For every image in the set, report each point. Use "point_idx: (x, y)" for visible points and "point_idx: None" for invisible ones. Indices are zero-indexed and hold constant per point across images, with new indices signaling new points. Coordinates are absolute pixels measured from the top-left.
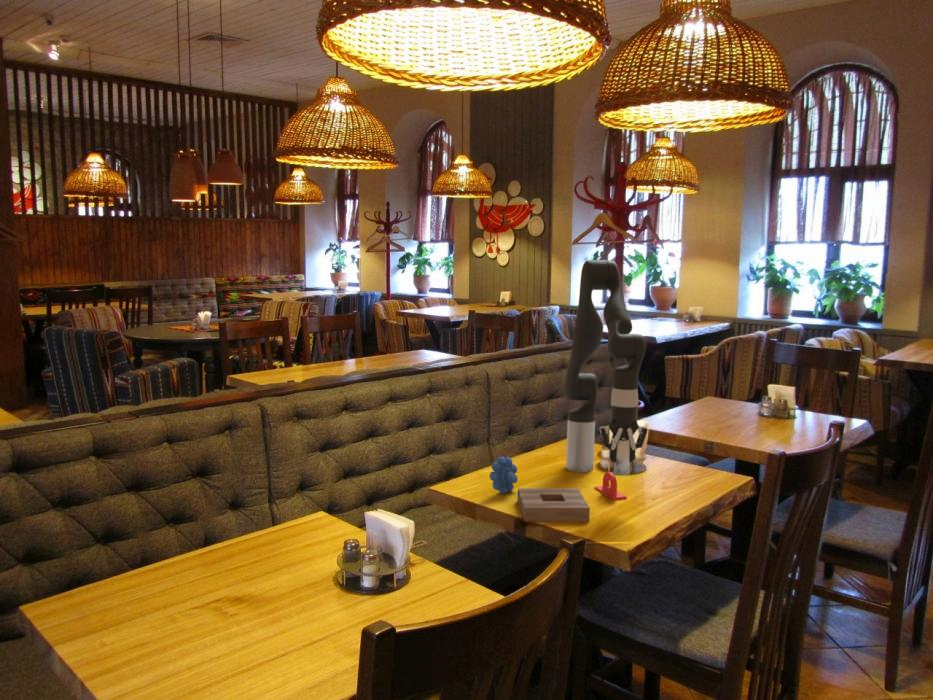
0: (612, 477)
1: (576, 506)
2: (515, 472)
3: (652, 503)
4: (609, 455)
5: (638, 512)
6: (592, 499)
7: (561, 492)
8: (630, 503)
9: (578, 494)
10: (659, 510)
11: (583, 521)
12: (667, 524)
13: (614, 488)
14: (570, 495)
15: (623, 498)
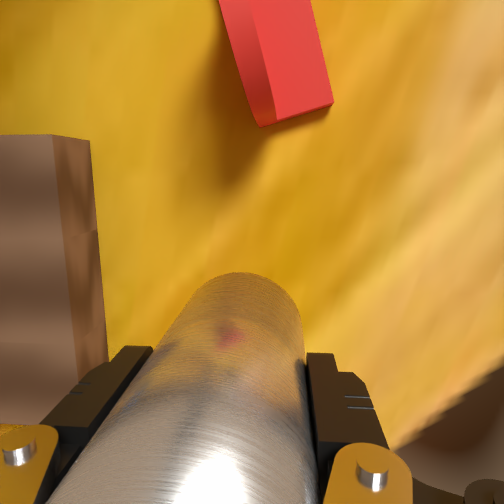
0: (244, 81)
1: (29, 411)
2: None
3: (446, 165)
4: (76, 391)
5: (332, 293)
6: (163, 103)
7: None
8: (334, 166)
9: (48, 241)
10: (439, 269)
11: None
12: (403, 432)
13: (260, 117)
14: (9, 258)
15: (315, 109)
